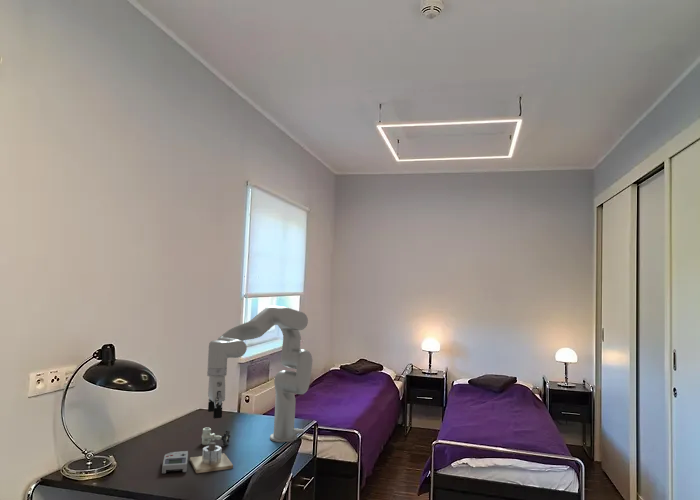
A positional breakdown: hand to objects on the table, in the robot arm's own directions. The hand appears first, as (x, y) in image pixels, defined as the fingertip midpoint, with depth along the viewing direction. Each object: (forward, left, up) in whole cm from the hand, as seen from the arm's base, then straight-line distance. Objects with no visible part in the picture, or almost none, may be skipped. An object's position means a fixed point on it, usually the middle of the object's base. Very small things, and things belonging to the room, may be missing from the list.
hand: (214, 414), depth 195 cm
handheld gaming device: (+13, -3, -20) cm, 24 cm away
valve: (-6, -23, -20) cm, 31 cm away
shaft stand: (0, 0, -19) cm, 19 cm away
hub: (0, 0, -18) cm, 18 cm away
